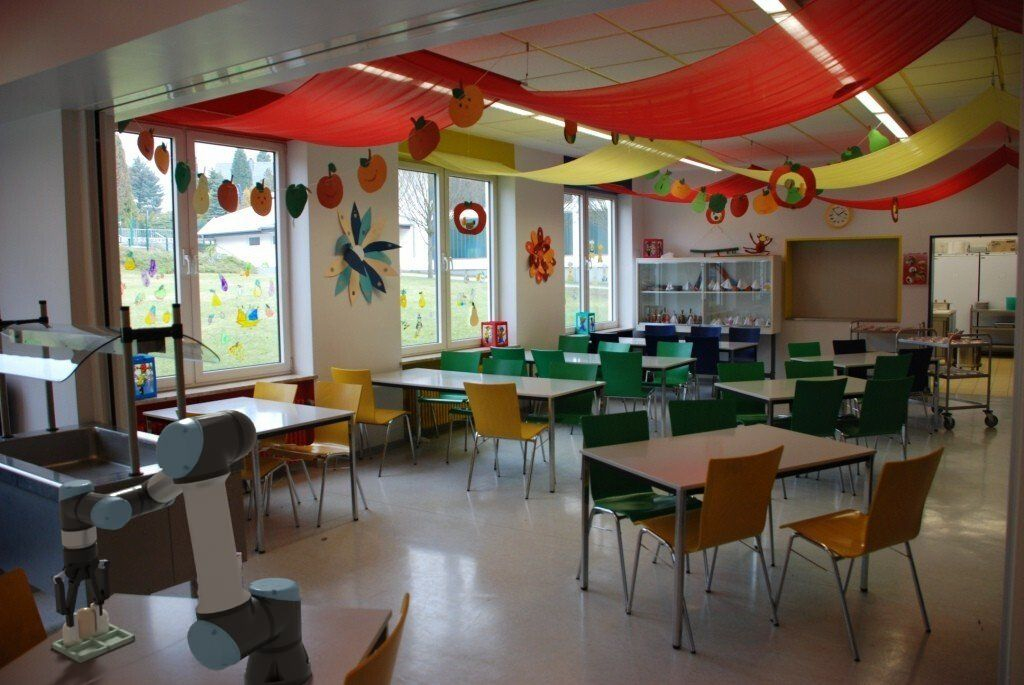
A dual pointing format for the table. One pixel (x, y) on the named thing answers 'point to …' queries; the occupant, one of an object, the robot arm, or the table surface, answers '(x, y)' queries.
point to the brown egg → (86, 622)
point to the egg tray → (95, 644)
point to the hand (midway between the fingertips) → (85, 633)
